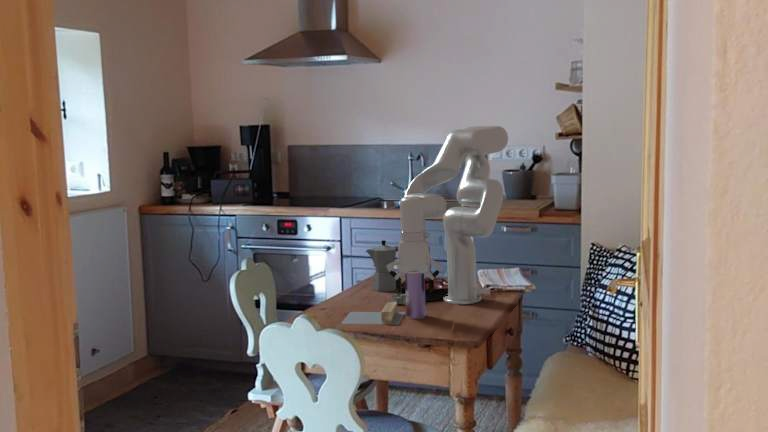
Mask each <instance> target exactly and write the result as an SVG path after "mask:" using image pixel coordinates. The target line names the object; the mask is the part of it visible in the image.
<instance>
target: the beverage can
mask: <svg viewBox="0 0 768 432" xmlns="http://www.w3.org/2000/svg"><path fill="white" fill-rule="evenodd" d="M404 278H405V279H404V284H405V294H406V305H405V315H406V318H407V319H410V320H412V319H413V320H418V319H419V320H420V319H423V318H426V316H427V315H426V314H427V313H426V310H427V309H426V288H425V287H426V285H425V280H426V279H425V274H421V273H420V272H408V273H407V274H404Z"/></svg>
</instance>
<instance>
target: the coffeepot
mask: <svg viewBox="0 0 768 432" xmlns="http://www.w3.org/2000/svg"><path fill="white" fill-rule="evenodd" d="M380 242H381V245H378V246H374V247H372V248H369V249H366V251H365V252H366V253H367V254H368V255H369V257H370V258H371V259H372V262H373V267H374V268H375V271H374V277H373V286H372V290H373V291H374V292H381V293H386V292H387V293H388V292H394V291H396V290H397V291H398V289H396V280H395V278H394V277H393V276H392V275H391V274H390V272H389V271H388V269H387V267H386V266H387V265H388V264H390V263H392V262H393V261H395V260H396V257H397V256H396V255H397V253H398V247H399V245H394V246H390V245H386V240H384V239H382V240H381V241H380ZM396 266H397V268H398V265H396ZM394 267H395V266H393V267H392V268H393V270H394V271H395V269H394Z"/></svg>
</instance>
